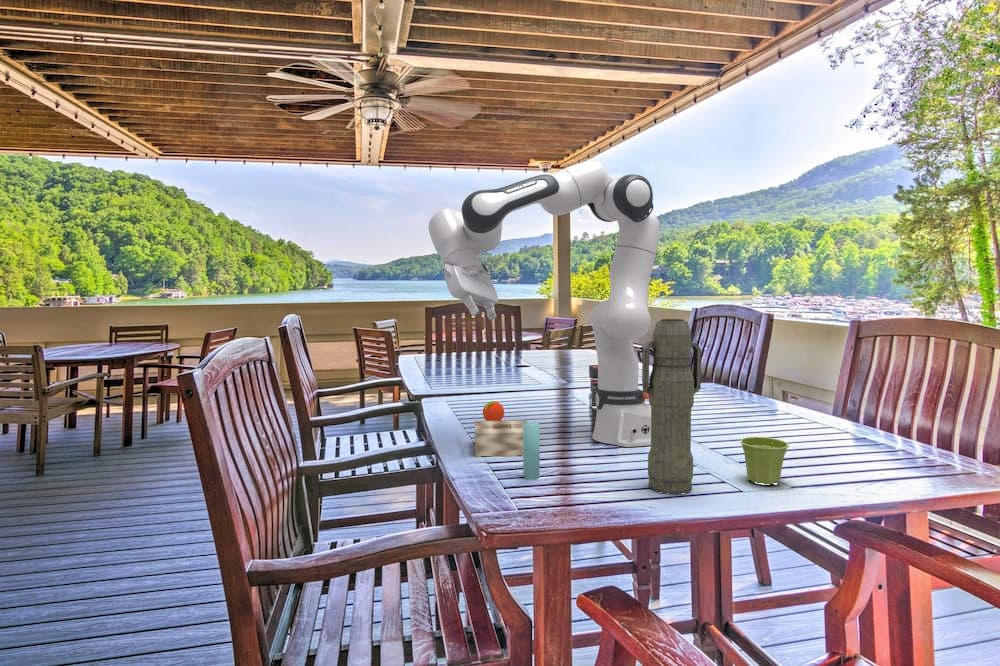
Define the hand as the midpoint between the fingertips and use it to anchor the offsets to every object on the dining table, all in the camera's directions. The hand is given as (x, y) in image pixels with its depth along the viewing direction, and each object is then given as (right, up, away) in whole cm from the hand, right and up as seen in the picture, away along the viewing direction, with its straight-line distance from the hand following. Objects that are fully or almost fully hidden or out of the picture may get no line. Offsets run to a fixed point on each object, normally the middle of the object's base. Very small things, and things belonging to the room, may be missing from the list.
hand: (484, 316), depth 137 cm
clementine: (+1, -33, +42) cm, 53 cm away
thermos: (+39, -36, -20) cm, 57 cm away
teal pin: (+11, -36, -12) cm, 39 cm away
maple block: (+4, -35, +11) cm, 37 cm away
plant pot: (+60, -36, -16) cm, 72 cm away
